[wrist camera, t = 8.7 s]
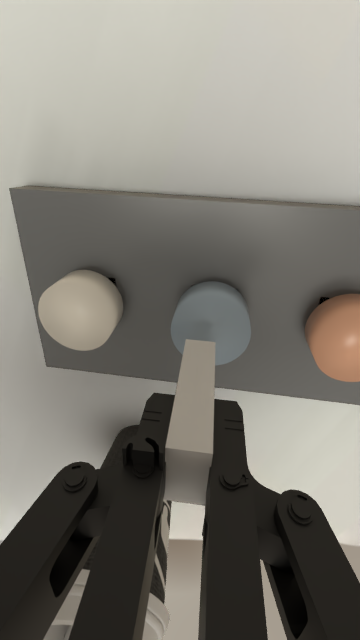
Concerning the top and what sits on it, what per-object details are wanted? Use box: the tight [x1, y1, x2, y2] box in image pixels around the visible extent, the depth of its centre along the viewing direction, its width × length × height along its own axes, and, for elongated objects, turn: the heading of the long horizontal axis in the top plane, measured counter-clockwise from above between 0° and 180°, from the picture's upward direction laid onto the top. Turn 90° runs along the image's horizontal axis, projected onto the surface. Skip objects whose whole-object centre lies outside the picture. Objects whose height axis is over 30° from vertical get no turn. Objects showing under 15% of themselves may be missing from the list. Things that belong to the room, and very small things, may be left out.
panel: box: [9, 186, 360, 405], centre depth 22 cm, size 27×14×2 cm, turn 88°
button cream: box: [38, 270, 123, 351], centre depth 21 cm, size 5×5×4 cm
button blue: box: [171, 281, 251, 366], centre depth 20 cm, size 5×5×4 cm
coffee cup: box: [43, 425, 172, 640], centre depth 25 cm, size 10×10×15 cm
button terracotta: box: [305, 294, 360, 382], centre depth 19 cm, size 5×5×4 cm
